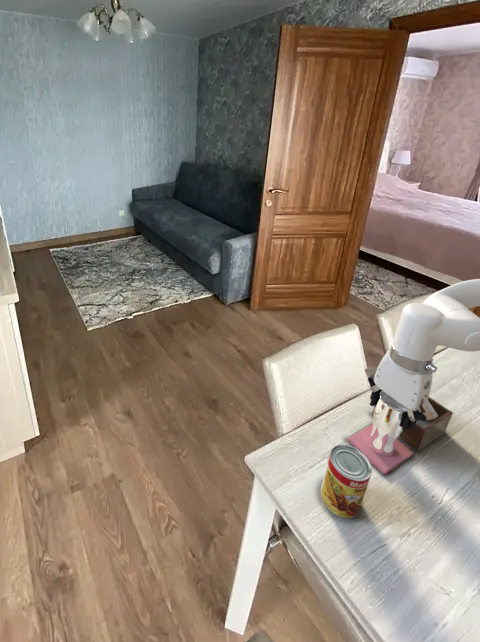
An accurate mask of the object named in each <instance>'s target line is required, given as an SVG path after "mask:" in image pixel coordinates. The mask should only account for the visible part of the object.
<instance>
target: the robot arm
mask: <svg viewBox="0 0 480 642" xmlns="http://www.w3.org/2000/svg"><path fill="white" fill-rule="evenodd" d="M476 307H480V278H475V279H468V280H464V281H460V282H457V283H454V284H452V285H449V286H447V287H445V288H442V289H440V290H438V291H436V292H433V293H432V294H431V295H429V296H428V297H426V299H424V301H423V302H422V303H421V302H411V303H407V304H406V305H404V307H403V308H402V310H401V313H400V316H399V320H398V324H397V326H396V331H395V333H394V334H395V335H394V336H393V340H392V343H391V346H390V348H389V349H388V350H387V351H386V353H384V355H383V357H382V358H381V360H380V362H379V364H378V367H366V368H365V369H364V372H365V375H366V377H367V381H368V383H369V384H368V385H370V391H371V394H370V396H369V399H370V402H369V406H370V407H374V406H375V405H376V402H377V400H378V398H379V395H380V393H381V392H382V391H384V392H385V393H387V394H388V395H390V396H391V397H392V398H394V399H395V400H396V401H398V402H399V403H401V404H402V405H404V406H405V407H406V408H407V412H408V416H407V417H406V418H405V421H404V423H403V426H402V430H403V431H404V432H405V431H407V430H408V429H410V430H412V429H413V428H414V427H415V425H416V423H418V421H421V422H424V421H426V420H431V419H435V418H436V417H438V415H437V413H436V412H435V410H434V409H433V407H432V405H431V404H430V402H429V401H428V398H429V397H430V394H431V391H432V390H431V389H432V384H433V376H434V375H433V373H436V372H437V370H438V366H436V365H435V364H434V363H433V361H434V355H435V353H436V349H437V347H438V346H439V347H440V346H441V347H444V348H449V349H453V350H458V351H462V352H480V317H479V316H478V315H477V314H475V313H474V312H473V311H472V310H471V309H472V308H476ZM420 404H421V405H422V407H423V408H424V410H425V411H426V412H421V410H420V407H419V406H420Z"/></svg>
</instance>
